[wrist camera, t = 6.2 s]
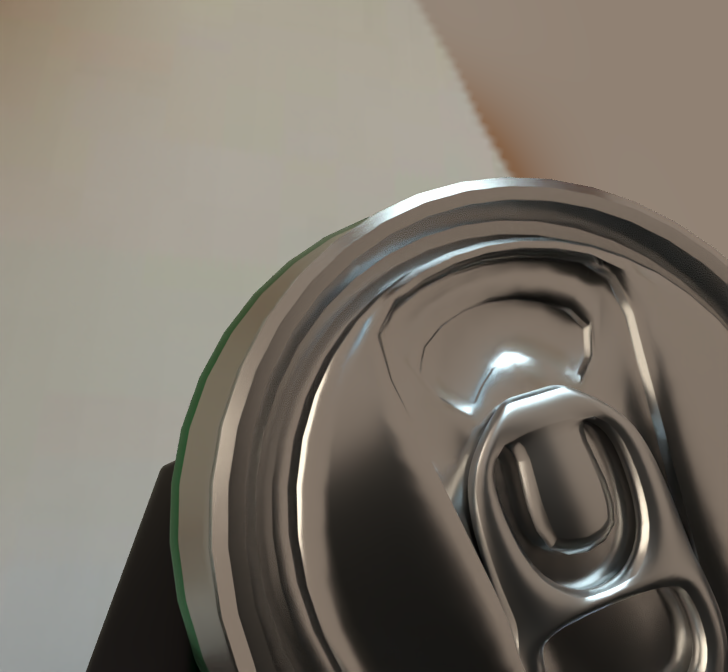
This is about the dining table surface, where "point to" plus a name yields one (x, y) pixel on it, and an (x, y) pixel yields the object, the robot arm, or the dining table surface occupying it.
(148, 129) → the dining table surface
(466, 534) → the soda can
